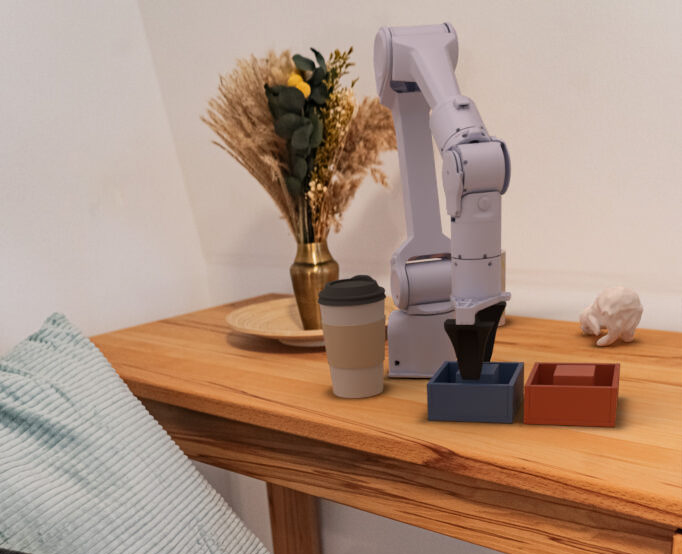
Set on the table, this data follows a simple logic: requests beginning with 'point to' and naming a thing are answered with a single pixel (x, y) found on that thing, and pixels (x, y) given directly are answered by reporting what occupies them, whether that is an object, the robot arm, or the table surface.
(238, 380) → the table surface
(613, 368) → the terracotta bin
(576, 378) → the terracotta block
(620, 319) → the white animal figurine
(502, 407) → the blue bin
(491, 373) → the blue block
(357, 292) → the coffee cup
